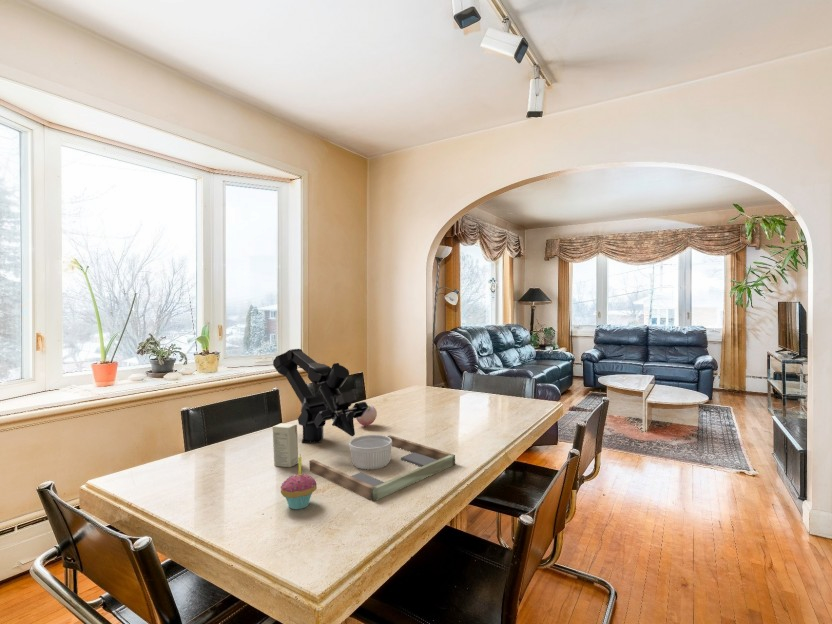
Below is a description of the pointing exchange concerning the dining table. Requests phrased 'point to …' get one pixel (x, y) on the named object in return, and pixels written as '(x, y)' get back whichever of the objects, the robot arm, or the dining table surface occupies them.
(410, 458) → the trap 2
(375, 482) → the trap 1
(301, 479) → the cupcake
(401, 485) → the wooden u-shaped frame
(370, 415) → the decorative fruit
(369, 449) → the ramekin
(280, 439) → the skincare box
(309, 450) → the dining table surface
